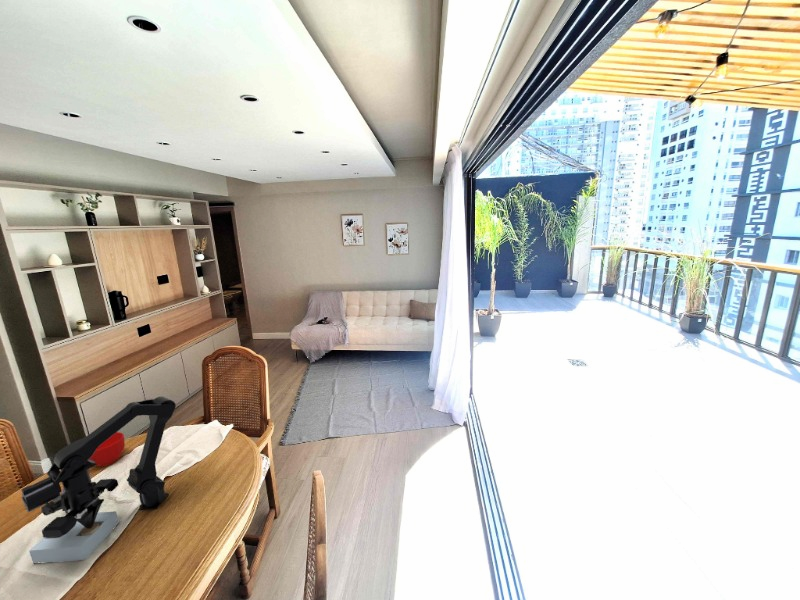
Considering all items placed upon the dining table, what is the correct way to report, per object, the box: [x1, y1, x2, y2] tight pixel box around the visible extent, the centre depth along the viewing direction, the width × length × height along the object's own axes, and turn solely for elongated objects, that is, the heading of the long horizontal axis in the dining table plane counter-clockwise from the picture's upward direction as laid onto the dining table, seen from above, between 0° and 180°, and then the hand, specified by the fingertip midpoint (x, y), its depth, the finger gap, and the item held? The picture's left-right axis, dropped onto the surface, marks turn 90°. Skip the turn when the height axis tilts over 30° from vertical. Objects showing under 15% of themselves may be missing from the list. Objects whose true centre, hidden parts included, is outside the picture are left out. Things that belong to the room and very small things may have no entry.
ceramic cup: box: [88, 431, 126, 467], centre depth 131 cm, size 13×17×10 cm
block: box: [28, 510, 120, 564], centre depth 97 cm, size 15×12×5 cm
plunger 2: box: [81, 522, 99, 536], centre depth 97 cm, size 4×4×4 cm
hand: (90, 527), depth 96 cm, fingers closed, pressing on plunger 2
